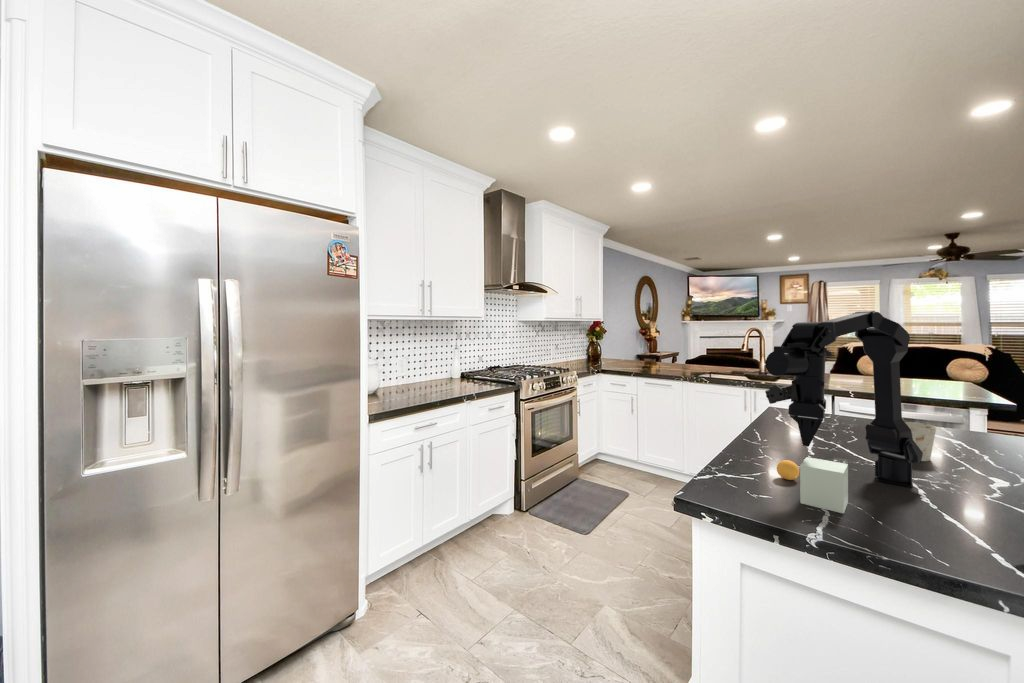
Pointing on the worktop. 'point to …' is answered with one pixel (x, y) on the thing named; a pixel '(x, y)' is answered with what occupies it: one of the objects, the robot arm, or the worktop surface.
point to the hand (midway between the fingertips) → (807, 442)
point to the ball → (788, 470)
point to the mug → (923, 437)
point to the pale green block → (824, 484)
